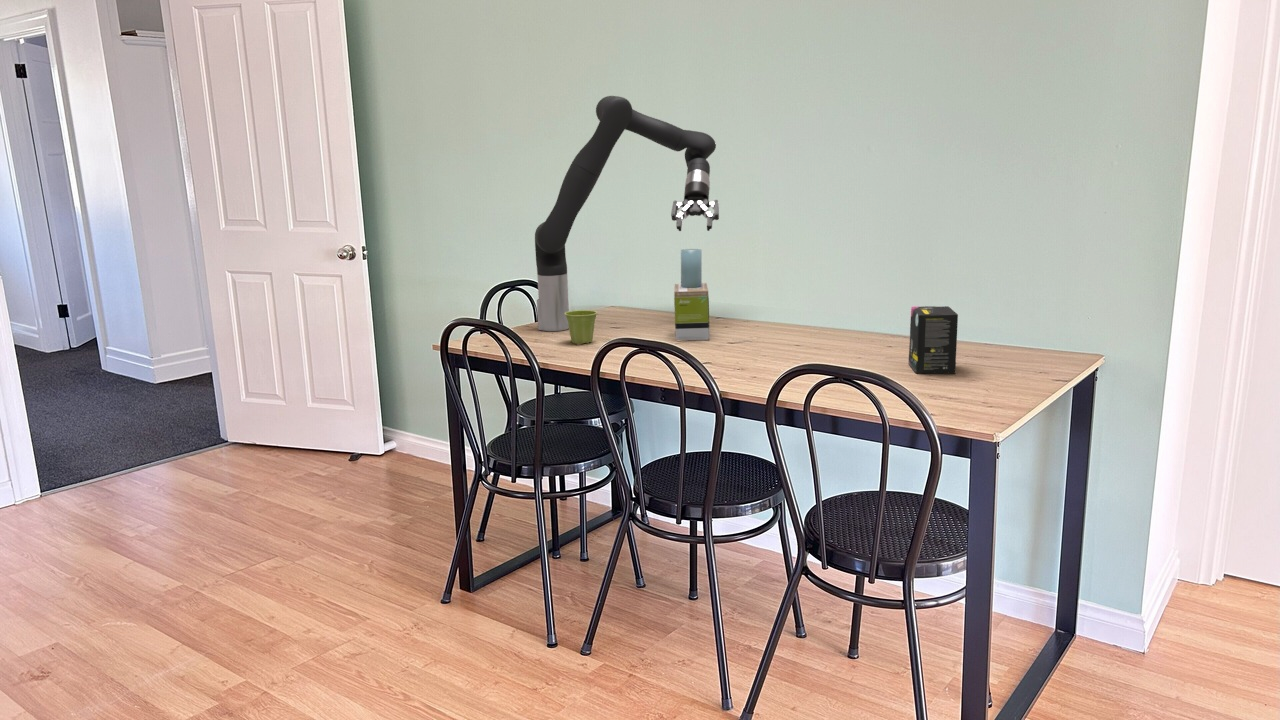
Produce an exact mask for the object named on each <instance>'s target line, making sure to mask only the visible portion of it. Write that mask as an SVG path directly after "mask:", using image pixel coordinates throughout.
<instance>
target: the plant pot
mask: <svg viewBox="0 0 1280 720" xmlns="http://www.w3.org/2000/svg"><path fill="white" fill-rule="evenodd" d="M565 315H566V318H567V320H568V325H569V329H568V331H569V335H570V341H571V343H572V344H575V345H577V344H579V345H583V344H590V343H589V342H591V343H592V342H593V341H594V333H595V332H594V329H595V323H596V321H595V320H596V318H597V315H598V311H596V310H586V309H585V310H584V309H582V310H581V309H580V310H578V309H577V310H569V312H565Z"/></svg>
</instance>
